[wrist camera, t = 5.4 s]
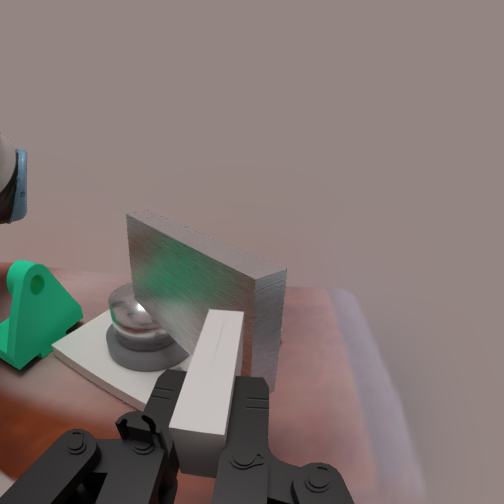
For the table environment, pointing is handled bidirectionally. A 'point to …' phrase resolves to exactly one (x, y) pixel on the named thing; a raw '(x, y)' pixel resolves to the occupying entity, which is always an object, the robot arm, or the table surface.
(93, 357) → the post base
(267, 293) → the brushed metal plate
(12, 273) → the green mounting bracket
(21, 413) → the table surface
